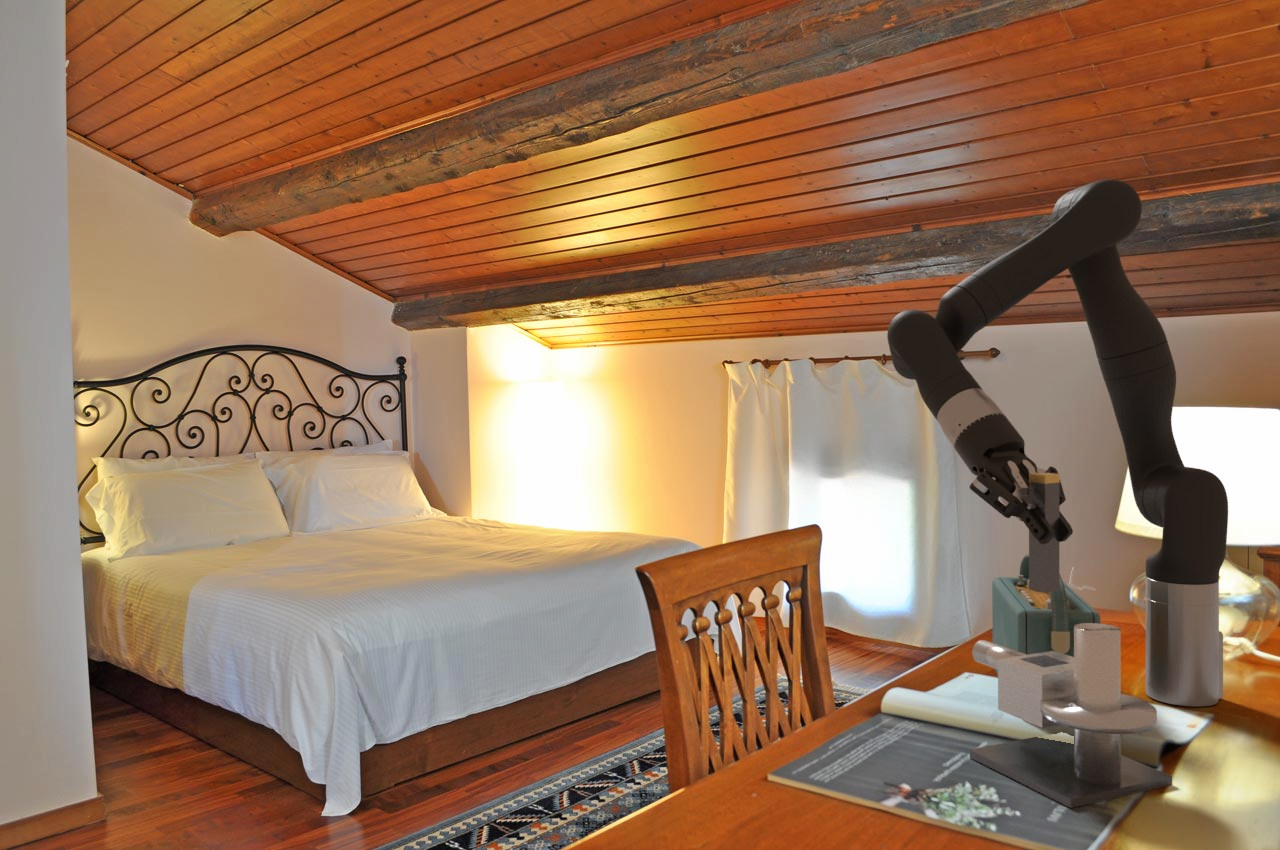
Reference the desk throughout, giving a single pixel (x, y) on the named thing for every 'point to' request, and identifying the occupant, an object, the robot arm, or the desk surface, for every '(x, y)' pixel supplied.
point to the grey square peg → (1047, 555)
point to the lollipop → (1077, 586)
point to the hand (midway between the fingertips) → (1057, 538)
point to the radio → (1036, 615)
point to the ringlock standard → (1070, 719)
